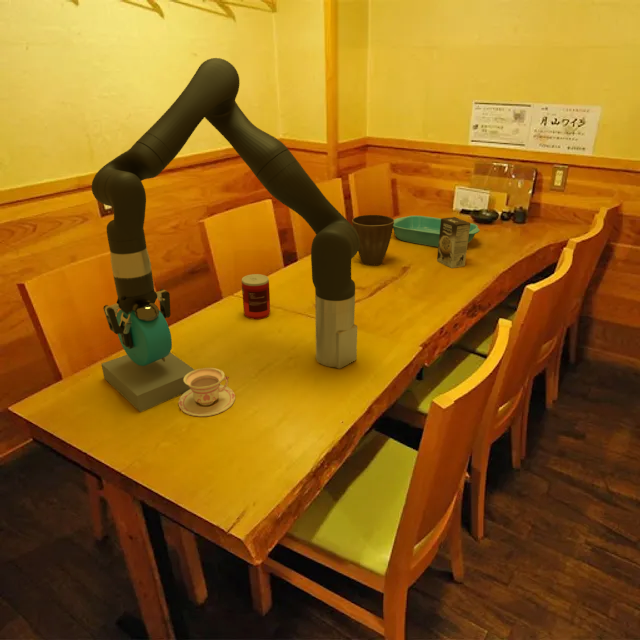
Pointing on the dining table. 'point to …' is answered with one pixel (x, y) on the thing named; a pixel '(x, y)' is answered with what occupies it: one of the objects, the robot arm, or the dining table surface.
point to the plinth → (147, 380)
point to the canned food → (256, 296)
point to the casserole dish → (423, 230)
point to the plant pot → (373, 237)
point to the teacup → (206, 393)
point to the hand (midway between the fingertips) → (144, 341)
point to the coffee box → (453, 242)
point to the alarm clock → (147, 334)
